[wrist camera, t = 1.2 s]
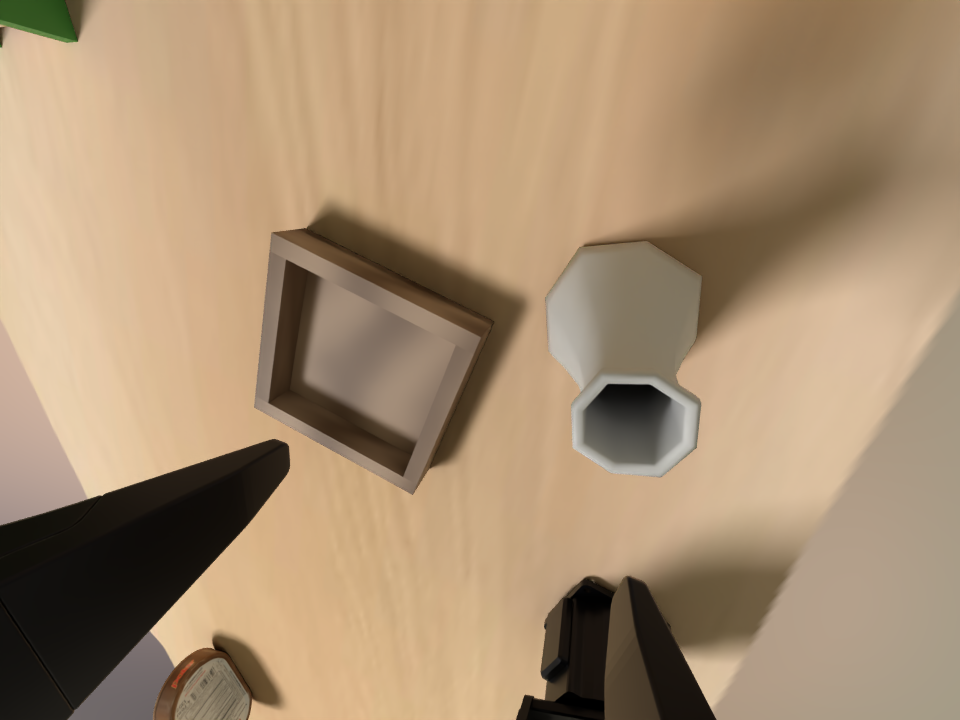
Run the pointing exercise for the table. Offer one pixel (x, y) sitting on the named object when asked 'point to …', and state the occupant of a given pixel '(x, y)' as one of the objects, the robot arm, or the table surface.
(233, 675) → the tin
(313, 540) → the table surface
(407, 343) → the tray
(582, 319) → the flask
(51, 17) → the hardback book
